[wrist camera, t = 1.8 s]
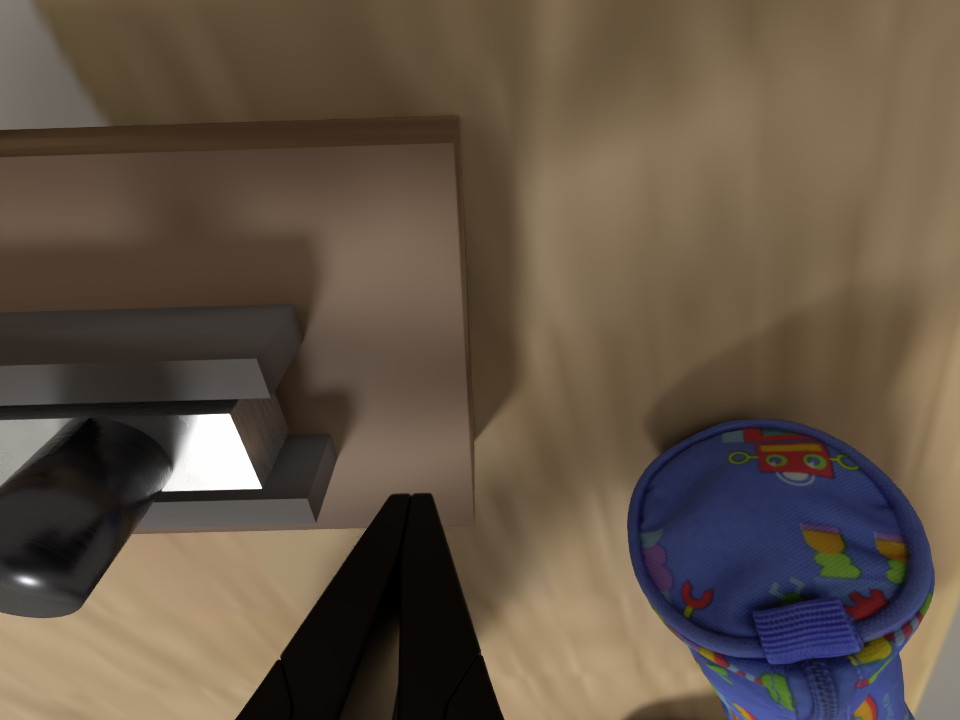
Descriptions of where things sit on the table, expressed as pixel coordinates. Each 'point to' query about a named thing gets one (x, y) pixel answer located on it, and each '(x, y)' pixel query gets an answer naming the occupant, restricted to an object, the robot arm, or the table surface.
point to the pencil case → (783, 569)
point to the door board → (253, 300)
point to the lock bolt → (111, 483)
